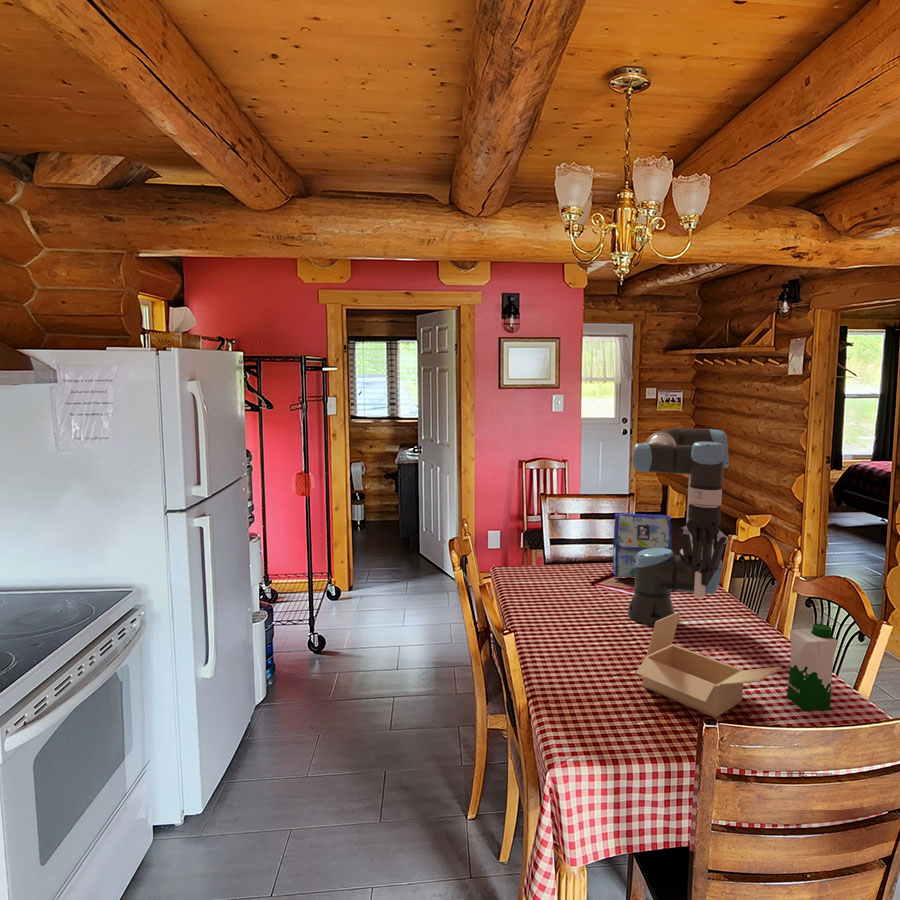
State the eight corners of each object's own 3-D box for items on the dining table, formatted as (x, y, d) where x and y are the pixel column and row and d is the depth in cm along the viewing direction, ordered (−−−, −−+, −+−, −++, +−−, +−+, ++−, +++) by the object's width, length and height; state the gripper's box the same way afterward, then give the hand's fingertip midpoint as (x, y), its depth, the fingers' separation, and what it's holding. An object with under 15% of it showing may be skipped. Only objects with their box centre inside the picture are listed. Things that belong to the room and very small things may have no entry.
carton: (632, 691, 168) (634, 661, 167) (678, 668, 182) (680, 640, 181) (706, 724, 153) (708, 691, 152) (750, 695, 166) (752, 665, 165)
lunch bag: (613, 581, 258) (616, 517, 255) (610, 569, 274) (613, 508, 271) (672, 585, 254) (675, 519, 251) (665, 572, 271) (668, 511, 268)
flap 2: (719, 683, 155) (758, 680, 147) (742, 670, 162) (781, 666, 155) (720, 685, 155) (759, 681, 147) (743, 671, 162) (781, 667, 155)
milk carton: (836, 711, 159) (843, 633, 157) (801, 713, 158) (807, 634, 156) (813, 694, 168) (819, 619, 165) (780, 695, 167) (785, 620, 164)
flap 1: (646, 654, 170) (655, 621, 167) (670, 643, 177) (679, 611, 175) (647, 655, 170) (656, 621, 167) (671, 644, 177) (680, 612, 174)
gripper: (672, 502, 163) (667, 592, 166) (722, 511, 154) (716, 607, 157) (688, 498, 168) (683, 586, 171) (737, 506, 158) (731, 600, 161)
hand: (699, 596), depth 164 cm, fingers closed
